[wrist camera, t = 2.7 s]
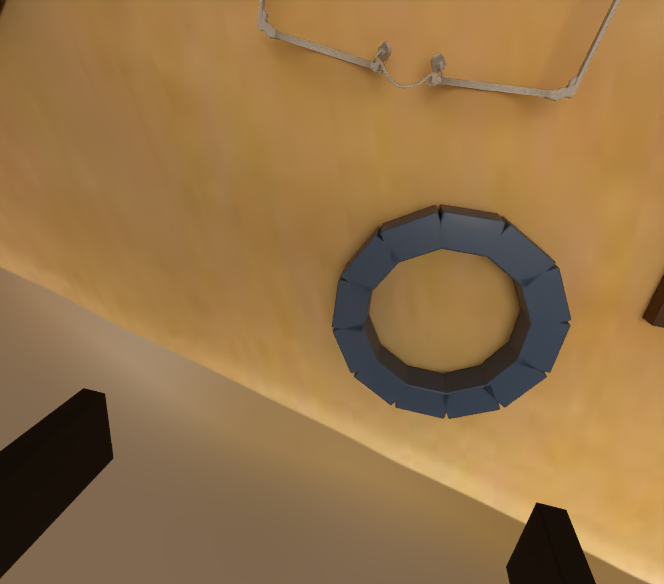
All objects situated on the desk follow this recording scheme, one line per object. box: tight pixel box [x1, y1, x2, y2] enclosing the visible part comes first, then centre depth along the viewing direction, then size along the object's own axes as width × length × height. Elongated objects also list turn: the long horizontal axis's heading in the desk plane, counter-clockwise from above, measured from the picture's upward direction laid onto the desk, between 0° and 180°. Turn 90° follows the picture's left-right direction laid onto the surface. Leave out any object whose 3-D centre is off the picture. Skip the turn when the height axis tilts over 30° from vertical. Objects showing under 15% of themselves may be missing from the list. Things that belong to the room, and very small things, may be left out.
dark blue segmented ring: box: [332, 205, 571, 419], centre depth 24 cm, size 13×13×2 cm
